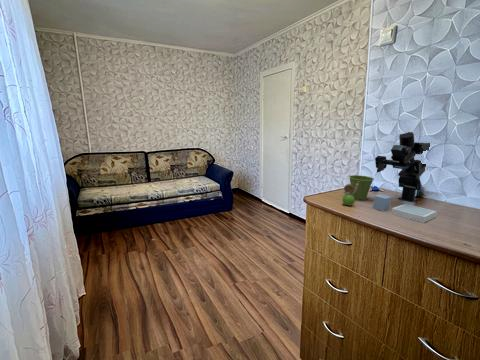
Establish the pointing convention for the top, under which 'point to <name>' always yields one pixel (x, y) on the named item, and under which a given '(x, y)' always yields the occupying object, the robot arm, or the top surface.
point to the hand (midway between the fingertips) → (387, 173)
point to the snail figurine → (349, 194)
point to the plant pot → (361, 186)
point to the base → (414, 213)
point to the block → (381, 202)
